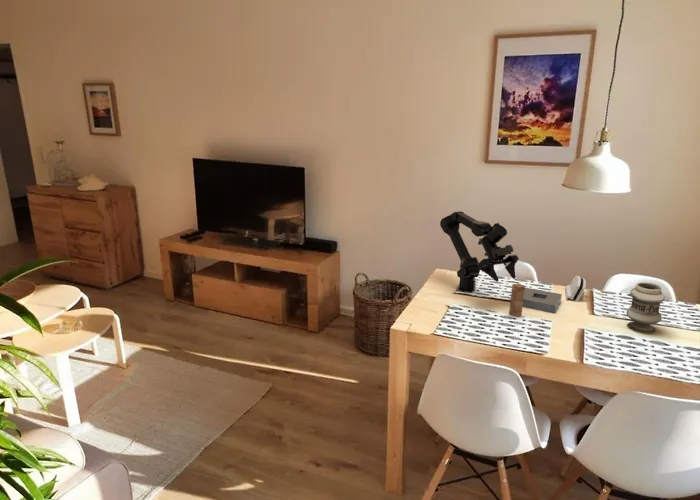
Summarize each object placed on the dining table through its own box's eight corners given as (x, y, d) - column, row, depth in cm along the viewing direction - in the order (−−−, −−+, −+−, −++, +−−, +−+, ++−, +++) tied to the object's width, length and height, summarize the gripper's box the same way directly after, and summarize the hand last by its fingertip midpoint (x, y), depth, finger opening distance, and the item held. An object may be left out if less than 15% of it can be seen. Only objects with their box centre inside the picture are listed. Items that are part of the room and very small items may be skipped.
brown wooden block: (509, 313, 214) (512, 284, 210) (515, 312, 215) (518, 283, 212) (515, 316, 211) (518, 287, 207) (521, 315, 212) (524, 286, 209)
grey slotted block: (516, 305, 223) (517, 298, 222) (524, 294, 236) (525, 287, 235) (554, 313, 215) (555, 305, 214) (560, 301, 228) (561, 294, 227)
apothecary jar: (617, 324, 205) (624, 282, 200) (638, 320, 210) (646, 278, 205) (644, 336, 194) (652, 292, 189) (665, 331, 199) (674, 288, 194)
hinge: (564, 288, 245) (574, 270, 241) (574, 292, 244) (584, 275, 240) (565, 300, 230) (576, 281, 226) (576, 305, 229) (587, 286, 225)
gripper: (484, 240, 212) (499, 273, 205) (518, 236, 220) (534, 268, 213) (470, 254, 221) (485, 286, 214) (503, 249, 229) (518, 280, 222)
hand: (506, 279), depth 216 cm, fingers open, 9 cm apart
